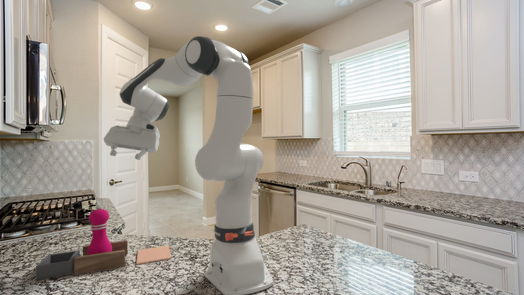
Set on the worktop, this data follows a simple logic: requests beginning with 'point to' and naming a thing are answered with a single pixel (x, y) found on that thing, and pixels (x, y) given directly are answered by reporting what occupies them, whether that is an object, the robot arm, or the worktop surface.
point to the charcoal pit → (56, 265)
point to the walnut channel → (102, 258)
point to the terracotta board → (153, 254)
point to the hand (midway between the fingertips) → (124, 157)
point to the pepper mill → (99, 232)
